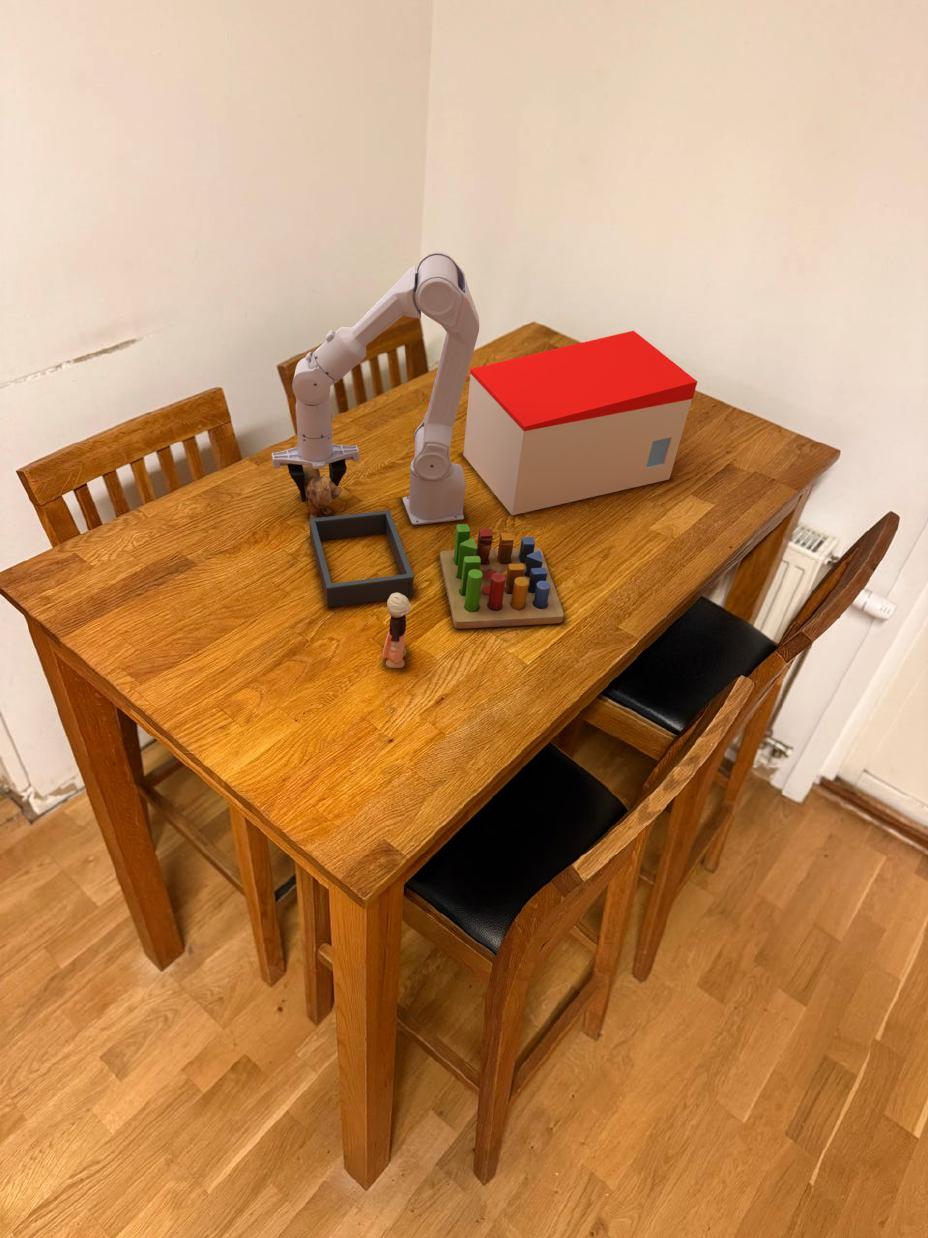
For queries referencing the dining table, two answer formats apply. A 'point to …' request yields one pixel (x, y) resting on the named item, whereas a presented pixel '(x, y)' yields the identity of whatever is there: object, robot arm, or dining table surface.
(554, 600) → the peg board
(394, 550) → the crate
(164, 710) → the dining table surface
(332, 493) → the lion figurine
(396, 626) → the grandmother figurine
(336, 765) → the dining table surface
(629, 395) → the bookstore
